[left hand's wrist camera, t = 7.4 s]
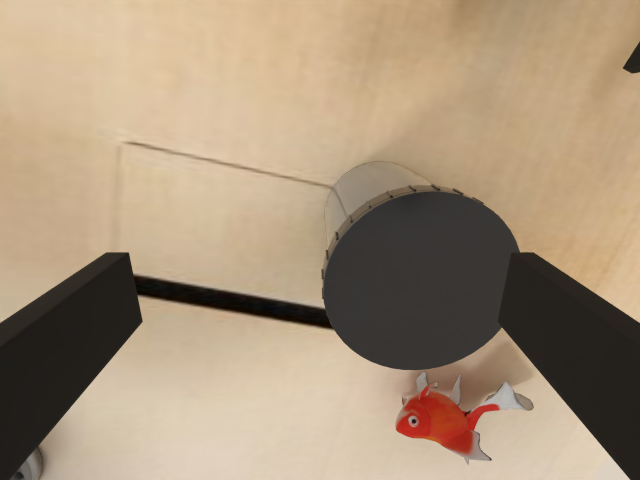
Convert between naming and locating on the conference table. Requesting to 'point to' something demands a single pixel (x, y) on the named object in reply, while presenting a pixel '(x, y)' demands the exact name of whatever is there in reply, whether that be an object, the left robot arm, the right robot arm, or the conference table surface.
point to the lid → (417, 277)
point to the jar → (364, 190)
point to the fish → (452, 416)
